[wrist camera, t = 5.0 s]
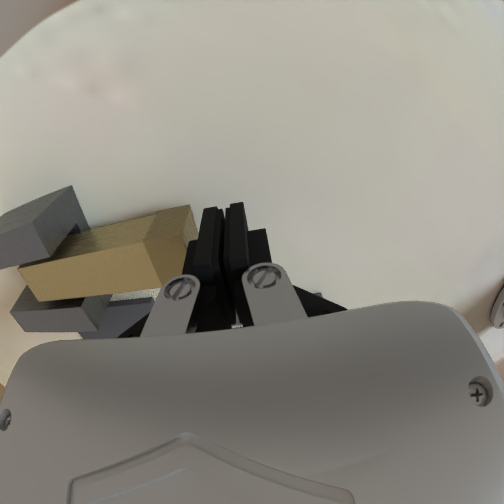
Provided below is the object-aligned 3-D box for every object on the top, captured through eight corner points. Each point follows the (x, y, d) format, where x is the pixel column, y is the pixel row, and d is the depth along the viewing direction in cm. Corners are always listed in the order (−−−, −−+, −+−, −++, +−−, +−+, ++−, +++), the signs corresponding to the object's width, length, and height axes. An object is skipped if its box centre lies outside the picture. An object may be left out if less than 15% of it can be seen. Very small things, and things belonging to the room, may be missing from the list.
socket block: (71, 185, 12) (32, 222, 9) (117, 283, 16) (97, 331, 13) (3, 214, 13) (-31, 248, 9) (46, 293, 17) (25, 331, 14)
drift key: (189, 204, 12) (180, 234, 10) (203, 250, 14) (198, 285, 12) (37, 241, 13) (15, 268, 11) (56, 275, 14) (39, 304, 12)
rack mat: (152, 297, 17) (150, 302, 17) (211, 397, 26) (211, 401, 25) (64, 306, 18) (62, 310, 17) (142, 398, 26) (142, 402, 26)
